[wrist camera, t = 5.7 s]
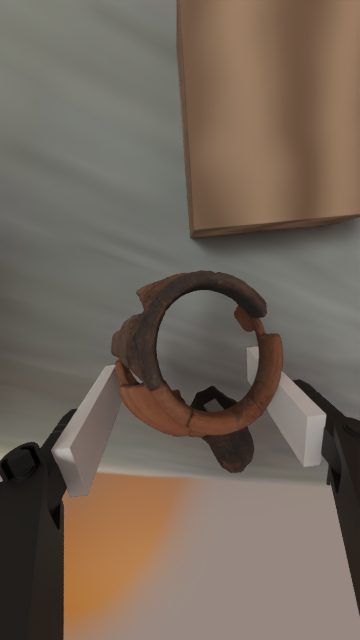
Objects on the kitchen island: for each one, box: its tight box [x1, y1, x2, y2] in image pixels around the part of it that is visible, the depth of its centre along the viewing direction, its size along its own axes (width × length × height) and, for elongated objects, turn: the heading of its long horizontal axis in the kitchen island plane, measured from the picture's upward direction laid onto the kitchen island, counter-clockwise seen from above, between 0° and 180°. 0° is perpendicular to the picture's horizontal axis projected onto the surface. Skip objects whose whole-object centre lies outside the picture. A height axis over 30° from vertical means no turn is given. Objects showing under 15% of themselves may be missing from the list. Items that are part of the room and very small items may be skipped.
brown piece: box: [111, 270, 283, 473], centre depth 12 cm, size 12×9×8 cm
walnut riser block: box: [177, 0, 360, 238], centre depth 15 cm, size 14×14×5 cm
